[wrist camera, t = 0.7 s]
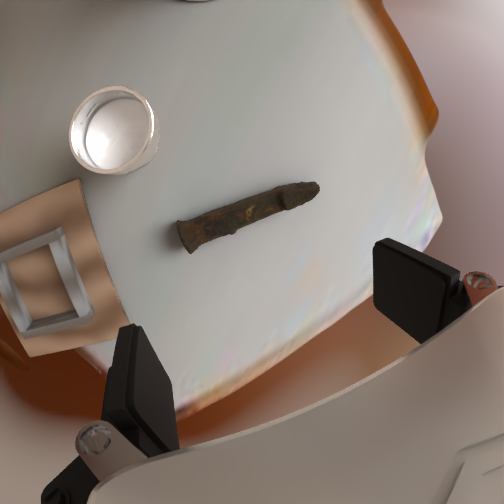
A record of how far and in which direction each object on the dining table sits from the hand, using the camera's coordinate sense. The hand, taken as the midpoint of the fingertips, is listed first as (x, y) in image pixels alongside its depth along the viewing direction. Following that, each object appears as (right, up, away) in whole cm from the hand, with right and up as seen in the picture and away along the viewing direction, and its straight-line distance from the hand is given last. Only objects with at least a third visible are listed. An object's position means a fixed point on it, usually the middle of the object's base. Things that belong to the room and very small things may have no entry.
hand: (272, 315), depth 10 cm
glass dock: (-29, -1, +21) cm, 36 cm away
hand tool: (-2, +9, +27) cm, 28 cm away
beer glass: (-15, +15, +20) cm, 30 cm away
